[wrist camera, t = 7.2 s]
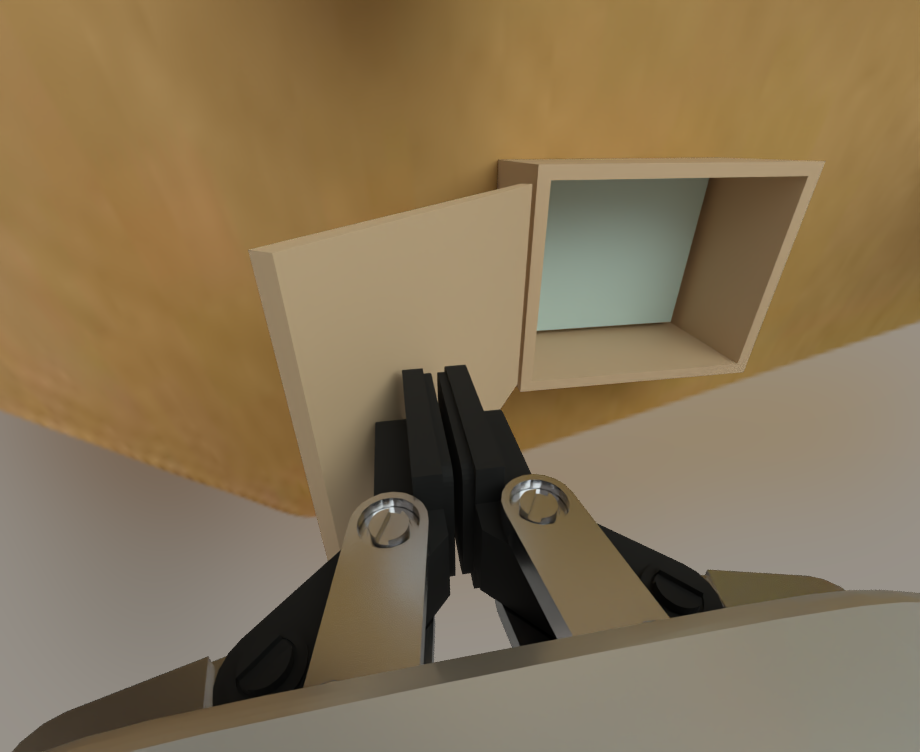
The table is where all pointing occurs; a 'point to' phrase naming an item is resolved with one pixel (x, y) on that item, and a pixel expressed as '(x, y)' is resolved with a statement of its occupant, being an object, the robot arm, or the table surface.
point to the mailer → (651, 264)
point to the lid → (390, 327)
